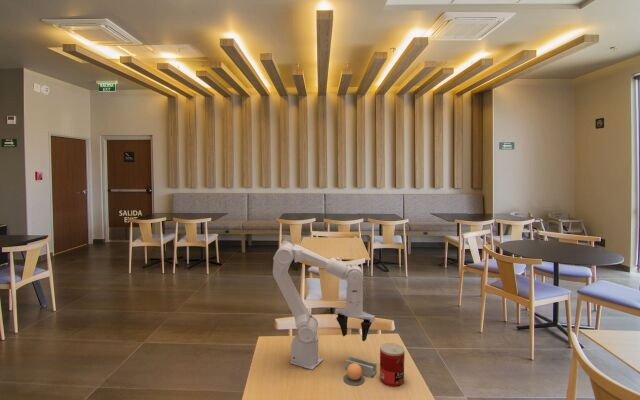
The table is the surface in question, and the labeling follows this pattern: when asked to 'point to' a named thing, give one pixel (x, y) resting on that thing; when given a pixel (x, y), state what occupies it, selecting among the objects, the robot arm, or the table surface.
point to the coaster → (353, 382)
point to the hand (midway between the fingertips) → (354, 337)
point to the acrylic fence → (363, 366)
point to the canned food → (392, 364)
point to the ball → (354, 371)
